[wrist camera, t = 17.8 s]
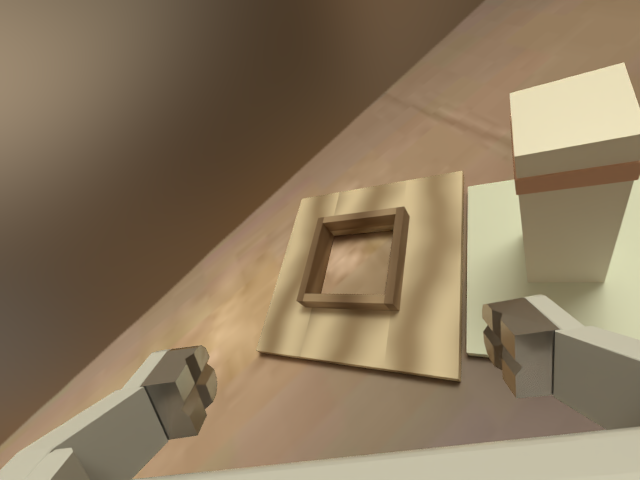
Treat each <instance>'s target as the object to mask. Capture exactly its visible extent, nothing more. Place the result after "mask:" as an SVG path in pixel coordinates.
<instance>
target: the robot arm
mask: <svg viewBox="0 0 640 480" xmlns="http://www.w3.org/2000/svg"><path fill="white" fill-rule="evenodd" d="M482 318H483V319H484V321H485V322H486V323H487V327H486V328H485V330H484V331H483V336H484V344H485V348H486V351H487V354H488V356H489V358H490V360H491V362H492V363H493V365H494V366H495V367H497V368H499V369H501V370H502V375H503V380H504V381H505V383H506V384H507V386H508V387H509V389H510V390H511V392H512V393H513V394H514V396H515V397H516V398H525V397H536V396H548V395H553V397H555V398H556V399H558V400H560V401H561V402H563V403H564V404H566V405H568V406H569V407H571V408H572V409H574V410H576V411H577V412H579V413H581V414H582V415H584V416H585V417H587V418H589V419H590V420H592V421H593V422H595V423H597V424H598V425H600V426H602V427H603V428H605V429H606V430H601V431H592V432H582V433H573V434H564V435H555V436H545V437H535V438H526V439H516V440H506V441H496V442H487V443H477V444H467V445H457V446H448V447H438V448H428V449H418V450H409V451H399V452H389V453H379V454H370V455H361V456H351V457H342V458H332V459H323V460H313V461H304V462H294V463H285V464H275V465H266V466H256V467H246V468H236V469H227V470H217V471H207V472H198V473H188V474H178V475H169V476H159V477H149V478H140V479H132V478H133V477H134V476H135V475H136V474H137V473H138V472H139V471H140V470H141V469H142V468H143V467H144V466H145V465H146V464H147V463H148V462H149V461H150V460H151V459H152V458H153V457H154V456H155V455H156V453H157V452H158V451H159V450H160V449H161V448H162V447H163V446H164V445H165V444H166V443H167V442H168V440H170V439H177V438H183V437H190V436H197V435H198V433H199V431H200V429H201V427H202V425H203V422H204V420H205V418H206V416H207V414H206V411H205V409H206V408H207V407H208V406H209V405H210V404H211V403H212V402H213V400H214V398H215V396H216V391H217V377H216V374H215V371H214V369H213V368H212V367H211V366H209V365H208V364H207V362H208V359H209V354H208V352H207V350H206V348H205V347H204V346H202V345H200V346H192V347H184V348H176V349H171V350H170V349H168V350H162V351H156V352H153V353H151V355H150V356H149V357H148V358H147V359H146V361H145V362H144V363H143V364H142V365H141V366H140V368H139V369H138V370H137V371H136V372H135V374H134V375H133V376H132V377H131V378H130V380H129V381H128V382H127V383H126V384H125V386H124V387H123V388H122V389H121V390H116V391H114V392H113V393H111V394H109V395H108V396H106V397H105V398H103V399H102V400H100V401H98V402H97V403H95V404H94V405H92V406H90V407H89V408H87V409H86V410H84V411H83V412H81V413H79V414H78V415H76V416H75V417H73V418H71V419H70V420H68V421H67V422H65V423H64V424H62V425H60V426H59V427H57V428H56V429H54V430H52V431H51V432H49V433H48V434H46V435H45V436H43V437H41V438H40V439H38V440H37V441H35V442H33V443H32V444H30V445H29V446H27V447H25V448H24V449H22V450H21V451H19V452H18V453H17V454H16V455H15V456H14V457H13V458H12V459H11V460H10V461H9V462H8V463H7V464H6V465H5V466H4V467H3V468H2V469H1V470H0V480H640V340H638V339H634V338H631V337H628V336H624V335H621V334H618V333H614V332H611V331H608V330H604V329H601V328H598V327H594V326H584V325H582V324H581V323H580V322H579V321H577V320H576V319H575V318H573V317H572V316H571V315H570V314H568V313H567V312H566V311H564V310H563V309H562V308H561V307H559V306H558V305H557V304H555V303H554V302H553V301H552V300H550V299H549V298H548V297H547V296H545V295H541V294H539V295H533V296H528V297H523V298H518V299H512V300H506V301H500V302H494V303H489V304H483V307H482Z"/></svg>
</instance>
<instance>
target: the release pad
mask: <svg viewBox="0 0 640 480" xmlns="http://www.w3.org/2000/svg"><path fill="white" fill-rule="evenodd" d="M539 294H541V295H545V296H547V297H548V298H549V299H550V300H552V301H553V302H554V303H555V304H557V305H558V306H559V307H561V308H562V309H563V310H564V311H566V312H567V313H568V314H570V315H571V316H572V317H573V318H575V319H576V320H577V321H579V322H580V323H581V324H582V325H584V326H594V327H598V328H601V329H604V330H608V331H611V332H614V333H618V334H621V335H624V336H628V337H631V338H634V339H638V340H640V176H639V179H638V180H634V183H633V186H632V190H631V193H630V196H629V200H628V203H627V207H626V210H625V214H624V217H623V220H622V224H621V227H620V231H619V234H618V238H617V241H616V245H615V248H614V251H613V255H612V258H611V262H610V265H609V269H608V272H607V276H606V279H605V282H528V280H527V270H526V261H525V252H524V242H523V233H522V224H521V214H520V205H519V196H518V195H516V190H515V181H514V180H509V181H502V182H495V183H489V184H482V185H475V186H469V187H468V241H467V354H468V355H470V356H479V357H489V356H488V354H487V351H486V348H485V344H484V336H483V331H484V330H485V328H486V327H487V323H486V322H485V321H484V319H483V318H482V307H483V304H489V303H494V302H500V301H506V300H512V299H518V298H523V297H528V296H533V295H539Z"/></svg>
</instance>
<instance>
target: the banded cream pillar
mask: <svg viewBox="0 0 640 480" xmlns="http://www.w3.org/2000/svg"><path fill="white" fill-rule="evenodd" d="M510 104H511V116H510V124H511V138H512V153H513V167H514V181H515V190H516V195H518V196H519V205H520V214H521V224H522V233H523V242H524V252H525V261H526V270H527V280H528V282H605V279H606V276H607V272H608V269H609V265H610V262H611V258H612V255H613V251H614V248H615V245H616V241H617V238H618V234H619V231H620V227H621V224H622V220H623V217H624V214H625V210H626V207H627V203H628V200H629V196H630V193H631V190H632V186H633V183H634V180H638V179H639V176H640V108H639V105H638V102H637V99H636V96H635V93H634V90H633V87H632V85H631V82H630V79H629V76H628V73H627V70H626V67H625V64H624V63H620V64H617V65H613V66H609V67H606V68H602V69H598V70H594V71H591V72H587V73H583V74H580V75H576V76H572V77H569V78H565V79H561V80H558V81H554V82H550V83H546V84H543V85H539V86H535V87H532V88H528V89H524V90H521V91H517V92H513V93H510Z"/></svg>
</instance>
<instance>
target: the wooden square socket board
mask: <svg viewBox="0 0 640 480" xmlns="http://www.w3.org/2000/svg"><path fill="white" fill-rule="evenodd" d="M463 223H464V175H463V171H458V172H453V173H447V174H441V175H435V176H430V177H424V178H418V179H413V180H407V181H401V182H396V183H390V184H384V185H378V186H373V187H367V188H361V189H356V190H350V191H344V192H339V193H333V194H327V195H322V196H316V197H310V198H304V199H302V201H301V204H300V207H299V210H298V214H297V217H296V220H295V224H294V227H293V230H292V234H291V237H290V240H289V243H288V247H287V250H286V253H285V257H284V260H283V263H282V266H281V270H280V273H279V276H278V280H277V283H276V286H275V290H274V293H273V296H272V299H271V303H270V306H269V309H268V313H267V316H266V319H265V323H264V326H263V329H262V332H261V336H260V339H259V342H258V346H257V349H256V351H258V352H261V353H265V354H272V355H279V356H286V357H293V358H300V359H307V360H314V361H321V362H327V363H334V364H341V365H348V366H355V367H362V368H369V369H376V370H383V371H390V372H397V373H403V374H410V375H417V376H424V377H431V378H438V379H445V380H452V381H459V382H461V348H462V285H463ZM390 230H393V237H392V245H391V252H390V260H389V267H388V274H387V282H386V289H385V295H374V294H321V291H322V286H323V282H324V278H325V273H326V269H327V265H328V260H329V256H330V252H331V247H332V243H333V239H334V236H337V235H348V234H358V233H369V232H379V231H390Z"/></svg>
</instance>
